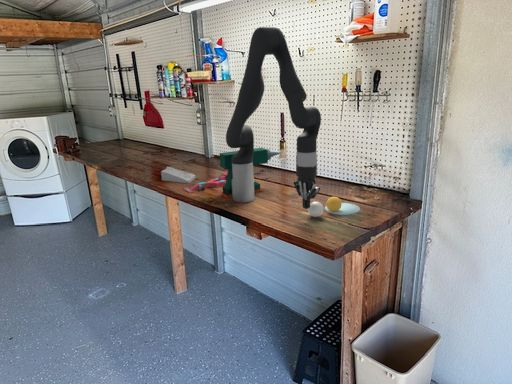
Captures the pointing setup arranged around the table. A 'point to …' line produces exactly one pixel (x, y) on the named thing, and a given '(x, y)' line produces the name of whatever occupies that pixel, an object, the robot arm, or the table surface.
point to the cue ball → (315, 209)
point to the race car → (209, 183)
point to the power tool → (258, 158)
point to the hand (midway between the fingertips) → (306, 208)
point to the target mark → (345, 209)
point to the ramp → (177, 175)
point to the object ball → (333, 204)
